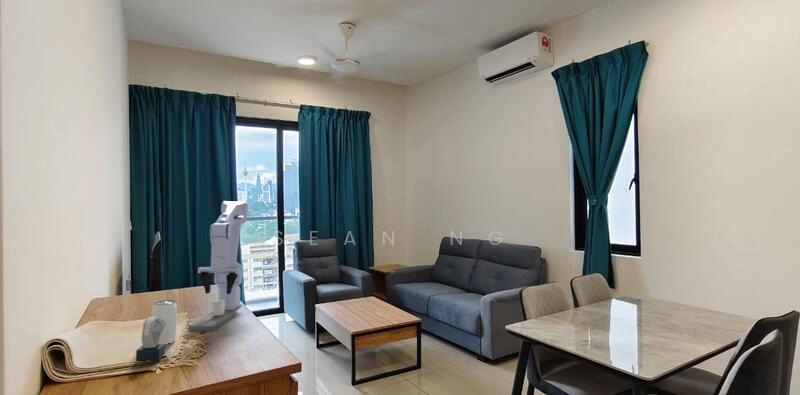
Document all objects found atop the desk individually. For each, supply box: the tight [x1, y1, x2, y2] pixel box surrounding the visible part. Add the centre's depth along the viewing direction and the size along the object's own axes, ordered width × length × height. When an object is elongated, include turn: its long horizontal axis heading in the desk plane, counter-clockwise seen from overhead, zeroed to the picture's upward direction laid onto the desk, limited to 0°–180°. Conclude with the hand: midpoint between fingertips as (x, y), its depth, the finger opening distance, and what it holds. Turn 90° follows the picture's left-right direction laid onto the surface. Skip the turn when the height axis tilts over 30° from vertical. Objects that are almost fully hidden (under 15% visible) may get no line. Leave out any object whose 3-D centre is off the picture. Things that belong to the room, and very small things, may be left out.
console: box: [188, 311, 235, 332], centre depth 144 cm, size 18×8×2 cm, turn 1°
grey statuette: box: [135, 316, 166, 362], centre depth 110 cm, size 6×8×11 cm
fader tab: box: [212, 298, 226, 316], centre depth 149 cm, size 4×3×5 cm
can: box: [151, 299, 178, 344], centre depth 123 cm, size 6×6×12 cm
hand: (218, 293), depth 149 cm, fingers open, 7 cm apart
